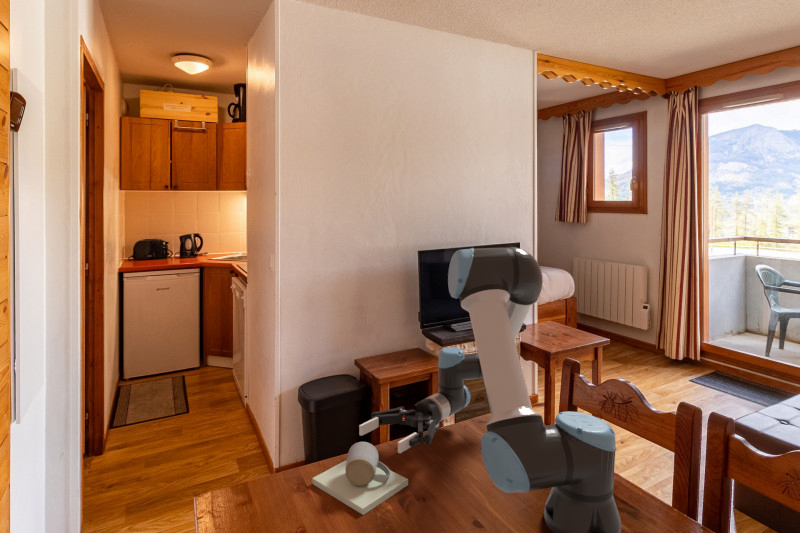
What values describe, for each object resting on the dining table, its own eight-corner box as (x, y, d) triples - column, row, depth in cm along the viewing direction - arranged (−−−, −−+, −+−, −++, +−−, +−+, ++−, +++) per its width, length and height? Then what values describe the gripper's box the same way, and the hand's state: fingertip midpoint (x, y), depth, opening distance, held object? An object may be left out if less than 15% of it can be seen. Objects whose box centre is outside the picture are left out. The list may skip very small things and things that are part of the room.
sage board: (408, 485, 117) (408, 479, 116) (363, 515, 106) (362, 508, 105) (357, 459, 129) (357, 454, 128) (312, 483, 118) (312, 478, 117)
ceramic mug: (344, 488, 113) (344, 457, 112) (348, 469, 121) (348, 440, 120) (389, 489, 113) (389, 458, 112) (390, 469, 121) (390, 441, 120)
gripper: (467, 437, 129) (417, 470, 113) (398, 411, 145) (346, 437, 130) (467, 410, 128) (416, 440, 112) (398, 387, 144) (345, 410, 129)
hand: (378, 438), depth 121 cm, fingers open, 13 cm apart
